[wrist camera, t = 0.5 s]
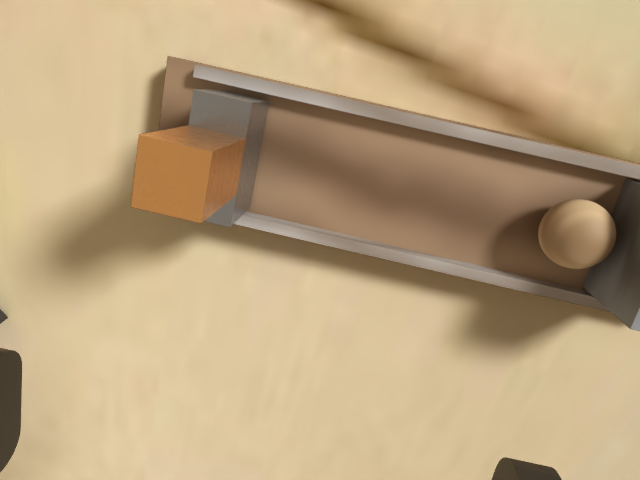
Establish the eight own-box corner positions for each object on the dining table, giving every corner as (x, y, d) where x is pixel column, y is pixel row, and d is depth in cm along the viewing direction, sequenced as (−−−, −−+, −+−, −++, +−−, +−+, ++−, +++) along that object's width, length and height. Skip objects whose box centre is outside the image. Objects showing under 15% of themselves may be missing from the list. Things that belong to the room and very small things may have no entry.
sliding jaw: (220, 89, 30) (143, 88, 20) (269, 101, 30) (219, 105, 20) (203, 196, 32) (126, 247, 21) (250, 207, 32) (195, 263, 21)
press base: (179, 58, 32) (121, 47, 24) (710, 180, 32) (822, 208, 24) (161, 195, 35) (104, 224, 27) (652, 309, 34) (736, 372, 26)
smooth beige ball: (541, 186, 30) (567, 199, 27) (607, 201, 30) (642, 217, 27) (520, 248, 32) (541, 269, 28) (583, 262, 32) (613, 286, 28)
